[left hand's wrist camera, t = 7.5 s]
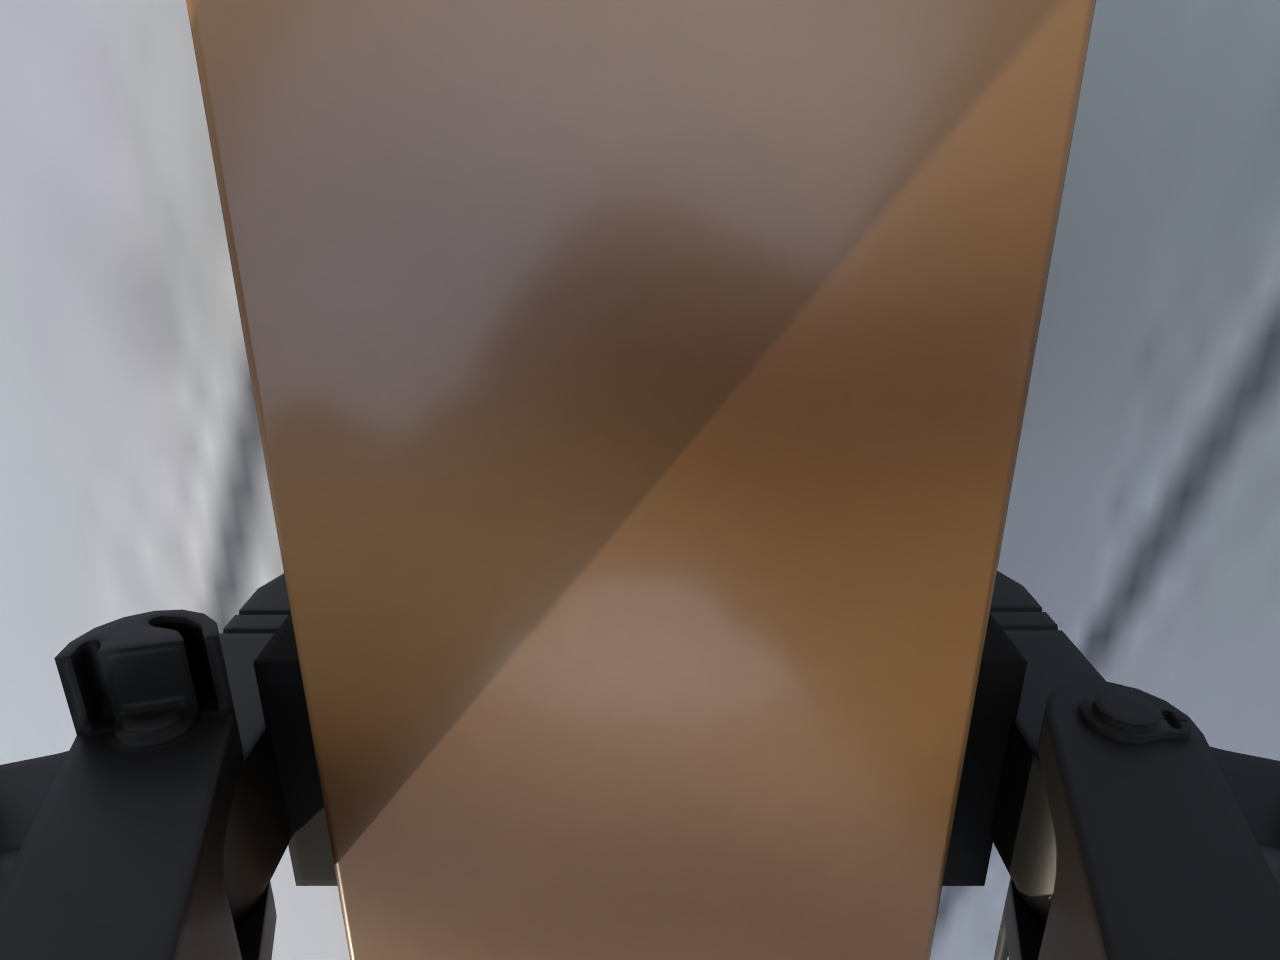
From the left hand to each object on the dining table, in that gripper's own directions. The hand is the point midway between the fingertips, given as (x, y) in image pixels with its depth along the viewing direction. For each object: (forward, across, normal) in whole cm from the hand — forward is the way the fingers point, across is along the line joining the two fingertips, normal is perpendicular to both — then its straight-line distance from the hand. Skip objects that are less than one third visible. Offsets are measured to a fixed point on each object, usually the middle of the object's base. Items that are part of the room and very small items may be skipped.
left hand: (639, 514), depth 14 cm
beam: (+1, 0, -31) cm, 31 cm away
